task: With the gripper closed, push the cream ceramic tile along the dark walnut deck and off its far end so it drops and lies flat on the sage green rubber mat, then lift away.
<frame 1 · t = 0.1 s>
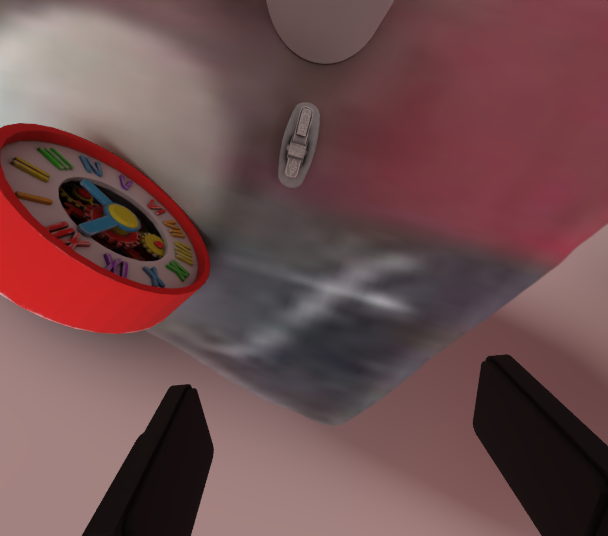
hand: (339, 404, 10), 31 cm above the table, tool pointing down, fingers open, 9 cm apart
lighter: (298, 149, 36), on the table
toy clock: (156, 212, 38), on the table
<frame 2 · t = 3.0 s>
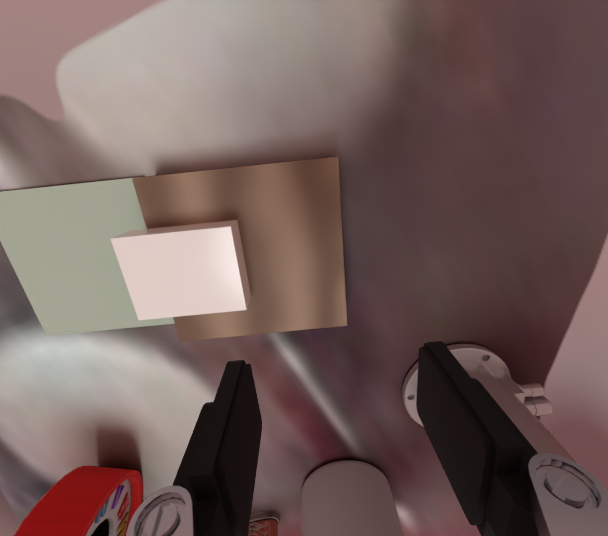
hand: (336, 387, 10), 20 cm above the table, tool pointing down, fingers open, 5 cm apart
tile: (187, 270, 24), point 5 cm above the table, touching deck
lighter: (255, 519, 44), on the table
toy clock: (122, 481, 41), on the table
cylinder vase: (344, 485, 42), on the table
mat: (92, 262, 29), on the table
deck: (256, 246, 29), on the table
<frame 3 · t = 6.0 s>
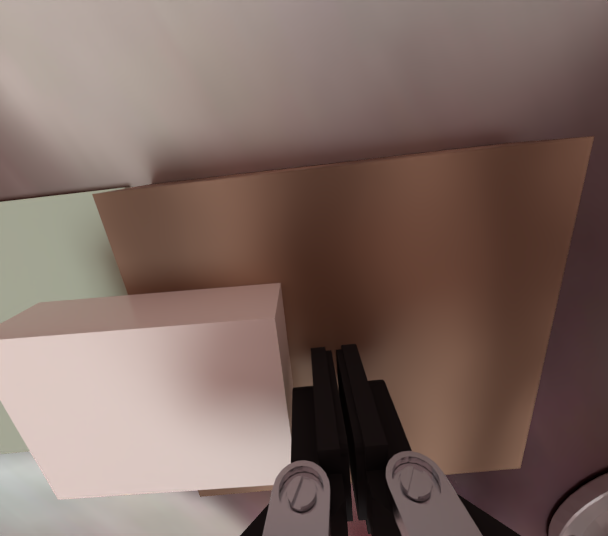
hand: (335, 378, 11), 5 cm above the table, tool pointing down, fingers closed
tile: (167, 392, 11), point 5 cm above the table, touching deck
mat: (39, 342, 16), on the table
deck: (337, 311, 16), on the table
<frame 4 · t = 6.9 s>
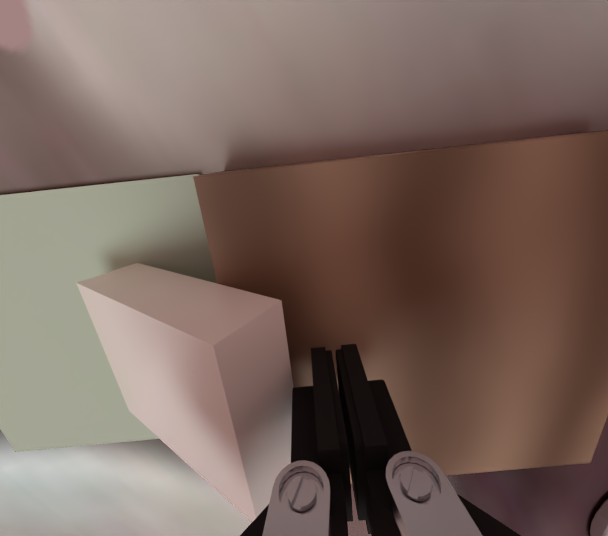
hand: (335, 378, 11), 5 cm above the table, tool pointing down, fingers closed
tile: (186, 369, 12), point 4 cm above the table, tilted 37°, touching gripper
mat: (94, 333, 16), on the table
deck: (401, 303, 15), on the table
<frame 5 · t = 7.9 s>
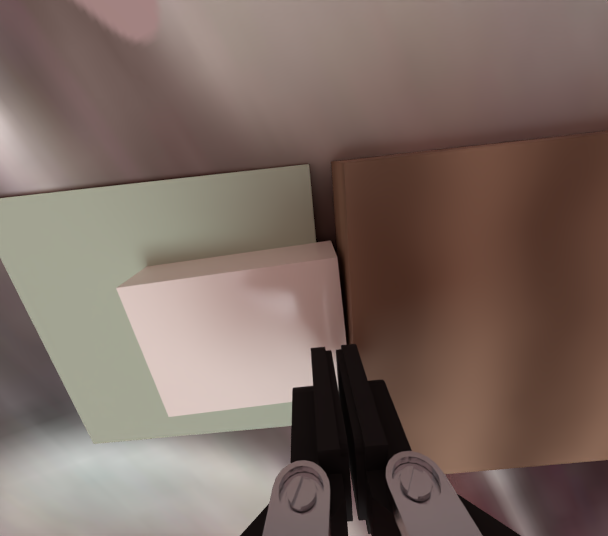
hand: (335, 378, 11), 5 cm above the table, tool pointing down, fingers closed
tile: (248, 330, 14), point 2 cm above the table, touching mat
mat: (184, 325, 16), on the table
deck: (491, 294, 15), on the table
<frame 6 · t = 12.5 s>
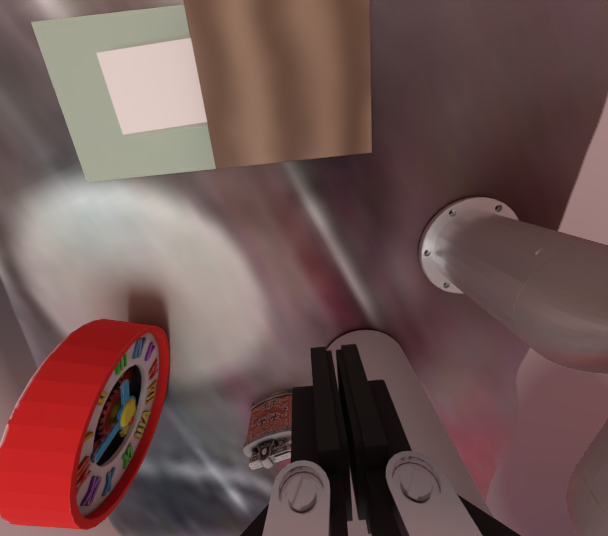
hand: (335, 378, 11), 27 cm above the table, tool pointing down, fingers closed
tile: (160, 91, 29), point 2 cm above the table, touching mat
lighter: (275, 400, 46), on the table
toy clock: (150, 354, 43), on the table
cylinder vase: (361, 361, 44), on the table
mat: (133, 102, 31), on the table
deck: (286, 85, 31), on the table
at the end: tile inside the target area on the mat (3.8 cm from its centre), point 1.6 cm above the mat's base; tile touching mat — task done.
